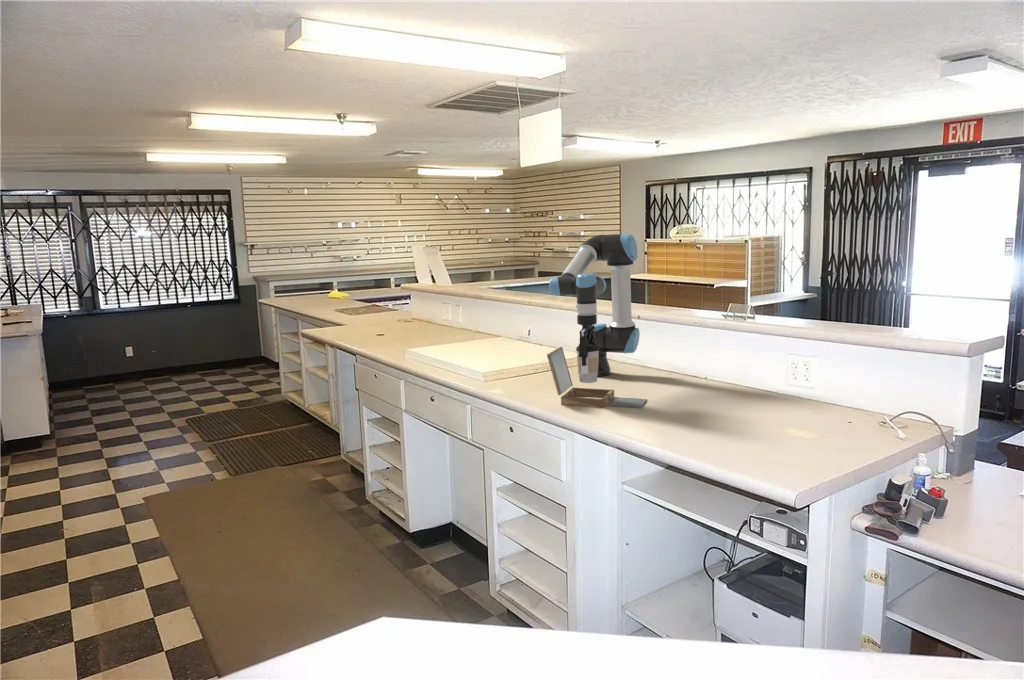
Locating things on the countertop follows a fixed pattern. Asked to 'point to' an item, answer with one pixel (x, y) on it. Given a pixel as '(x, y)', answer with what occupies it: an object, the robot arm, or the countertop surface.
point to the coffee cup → (589, 364)
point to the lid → (559, 370)
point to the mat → (628, 402)
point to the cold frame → (575, 401)
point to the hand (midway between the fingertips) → (588, 370)
